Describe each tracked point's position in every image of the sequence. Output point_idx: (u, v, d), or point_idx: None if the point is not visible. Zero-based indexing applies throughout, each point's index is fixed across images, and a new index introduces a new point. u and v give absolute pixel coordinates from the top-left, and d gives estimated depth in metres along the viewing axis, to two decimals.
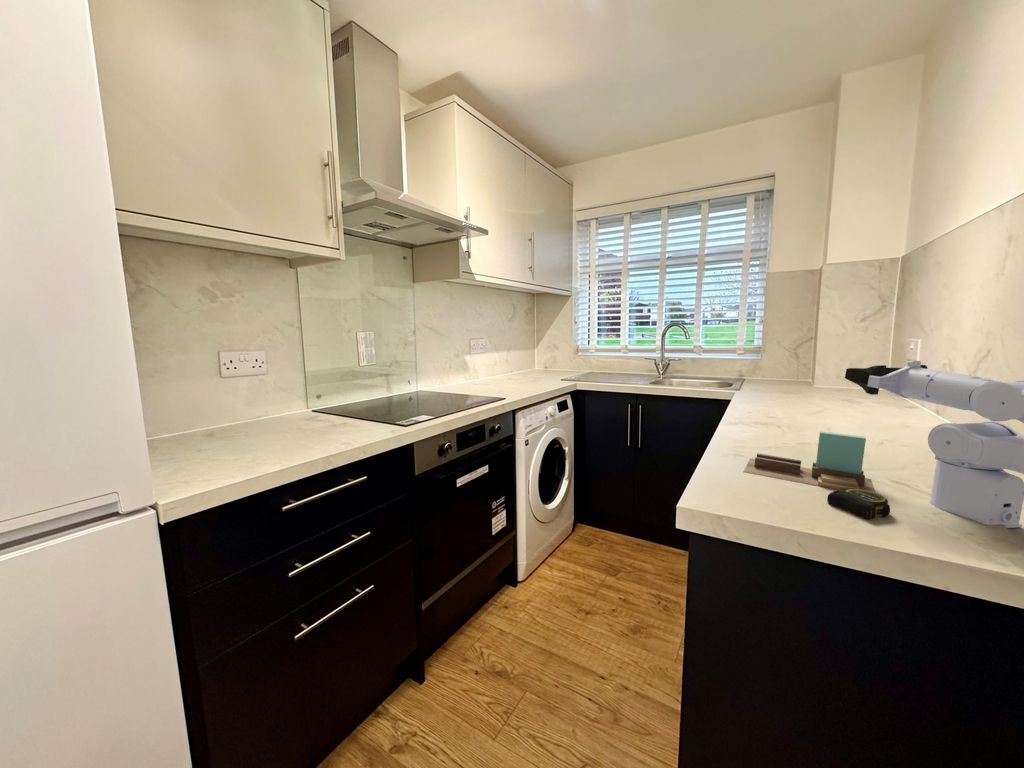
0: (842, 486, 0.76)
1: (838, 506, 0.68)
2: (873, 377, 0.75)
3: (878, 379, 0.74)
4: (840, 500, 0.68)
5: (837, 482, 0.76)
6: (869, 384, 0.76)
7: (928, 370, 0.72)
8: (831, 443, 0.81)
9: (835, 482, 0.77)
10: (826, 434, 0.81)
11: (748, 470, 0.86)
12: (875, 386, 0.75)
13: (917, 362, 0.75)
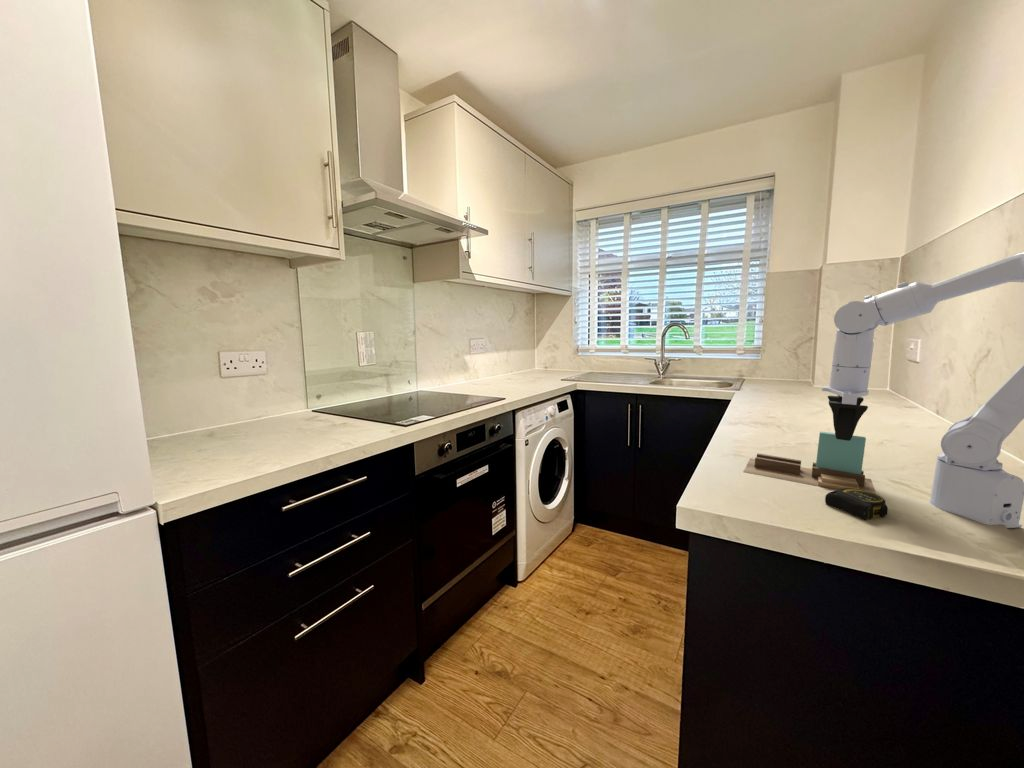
0: (842, 486, 0.76)
1: (836, 506, 0.68)
2: (843, 399, 0.74)
3: (845, 394, 0.74)
4: (837, 500, 0.68)
5: (837, 482, 0.76)
6: (853, 402, 0.73)
7: (831, 374, 0.80)
8: (831, 443, 0.81)
9: (835, 482, 0.77)
10: (826, 434, 0.81)
11: (748, 470, 0.86)
12: (855, 396, 0.73)
13: (823, 387, 0.81)
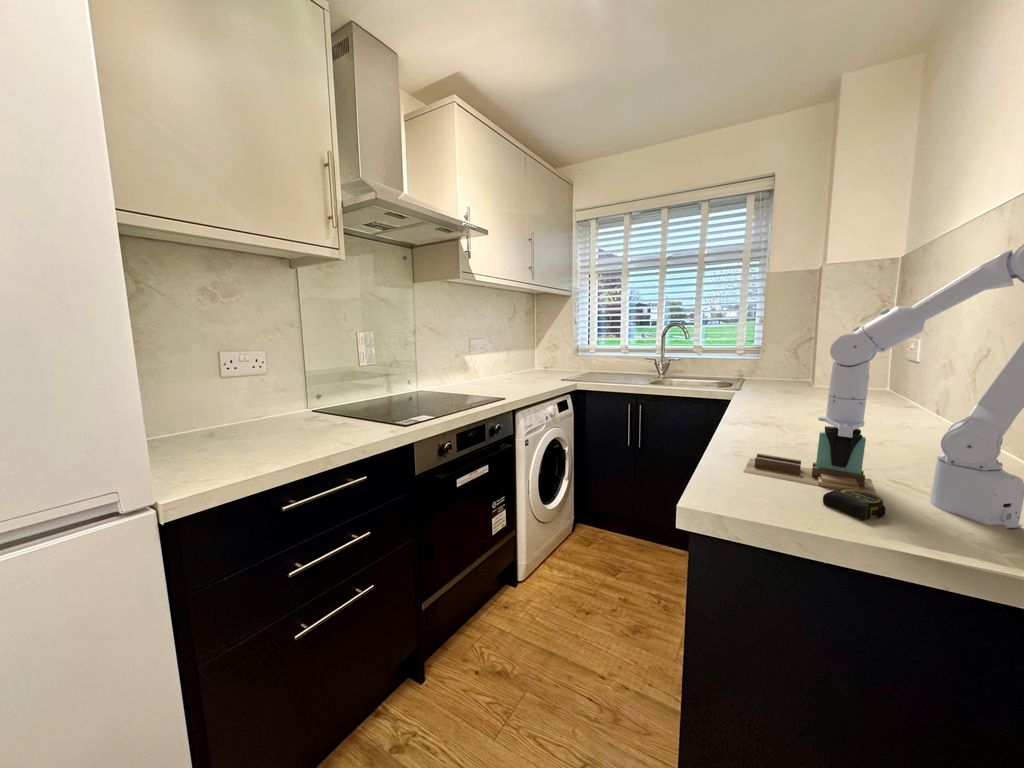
0: (842, 486, 0.76)
1: (833, 507, 0.68)
2: (839, 431, 0.75)
3: (841, 426, 0.74)
4: (835, 500, 0.68)
5: (837, 482, 0.76)
6: (849, 435, 0.74)
7: (828, 405, 0.80)
8: None
9: (835, 482, 0.77)
10: None
11: (748, 470, 0.86)
12: (851, 429, 0.74)
13: (820, 416, 0.82)
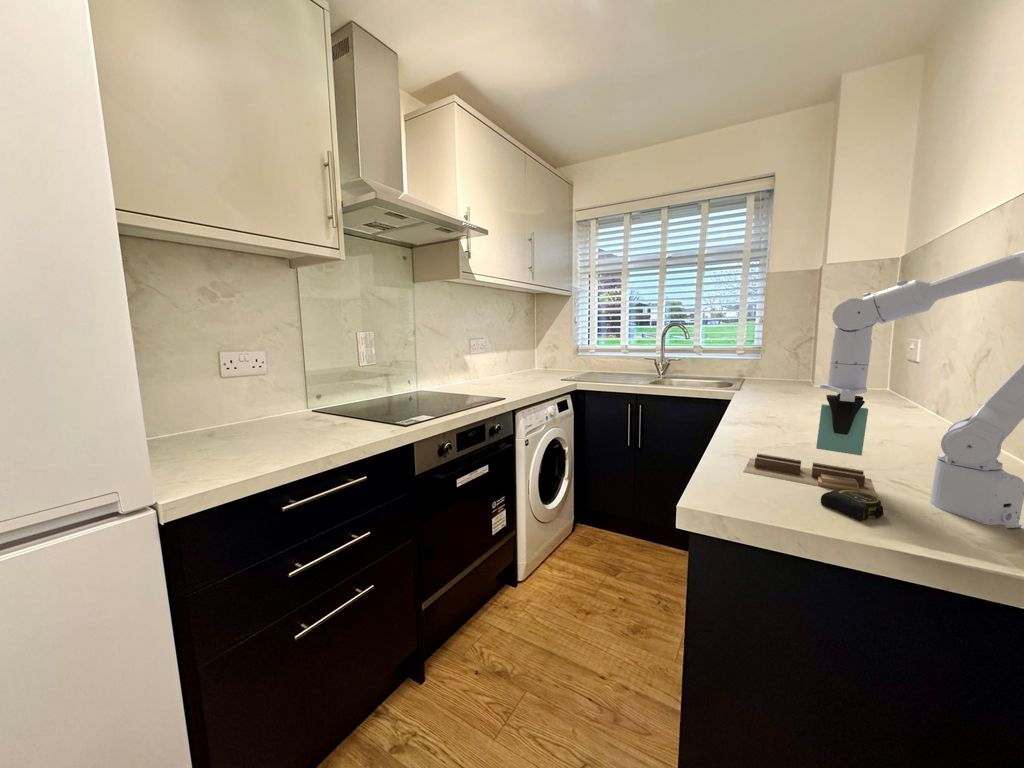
0: (842, 486, 0.76)
1: (831, 507, 0.68)
2: (842, 396, 0.74)
3: (843, 391, 0.74)
4: (833, 501, 0.68)
5: (837, 482, 0.76)
6: (851, 399, 0.73)
7: (830, 372, 0.80)
8: None
9: (835, 482, 0.77)
10: (828, 406, 0.80)
11: (748, 470, 0.86)
12: (853, 393, 0.73)
13: (822, 384, 0.81)
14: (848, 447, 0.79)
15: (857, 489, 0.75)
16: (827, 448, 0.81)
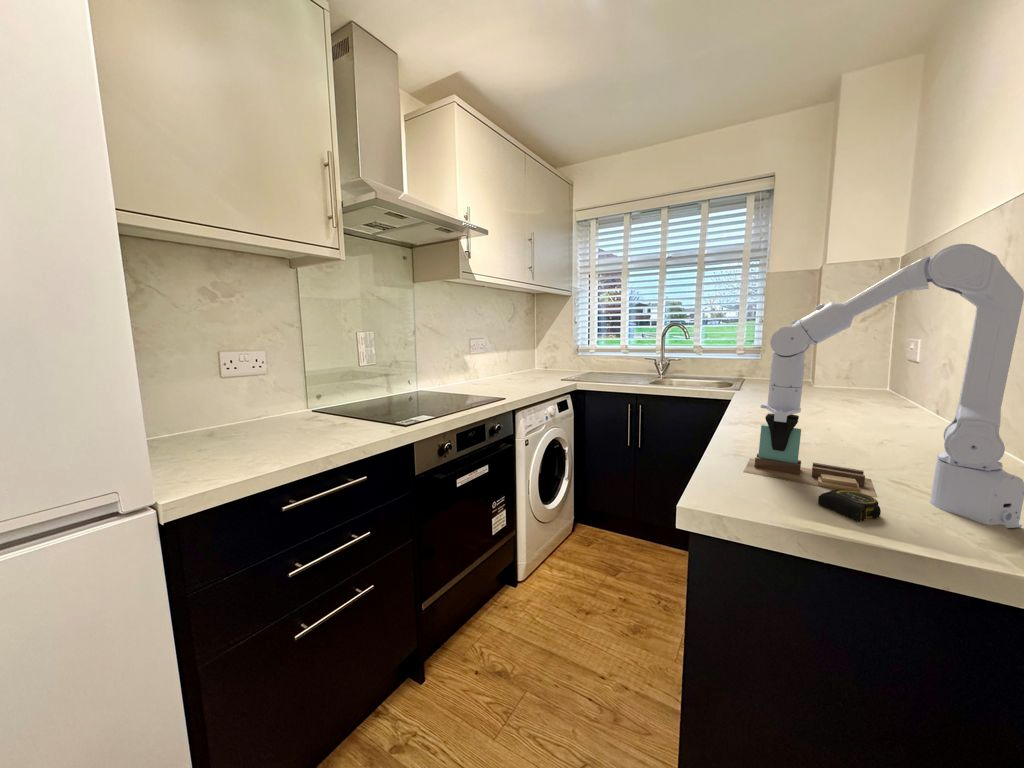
0: (842, 486, 0.76)
1: (828, 508, 0.68)
2: (775, 417, 0.80)
3: (777, 412, 0.80)
4: (830, 501, 0.67)
5: (837, 482, 0.76)
6: (783, 420, 0.80)
7: (768, 393, 0.86)
8: None
9: (835, 482, 0.77)
10: (767, 426, 0.87)
11: (748, 470, 0.86)
12: (785, 414, 0.79)
13: (762, 404, 0.88)
14: None
15: (857, 489, 0.75)
16: None
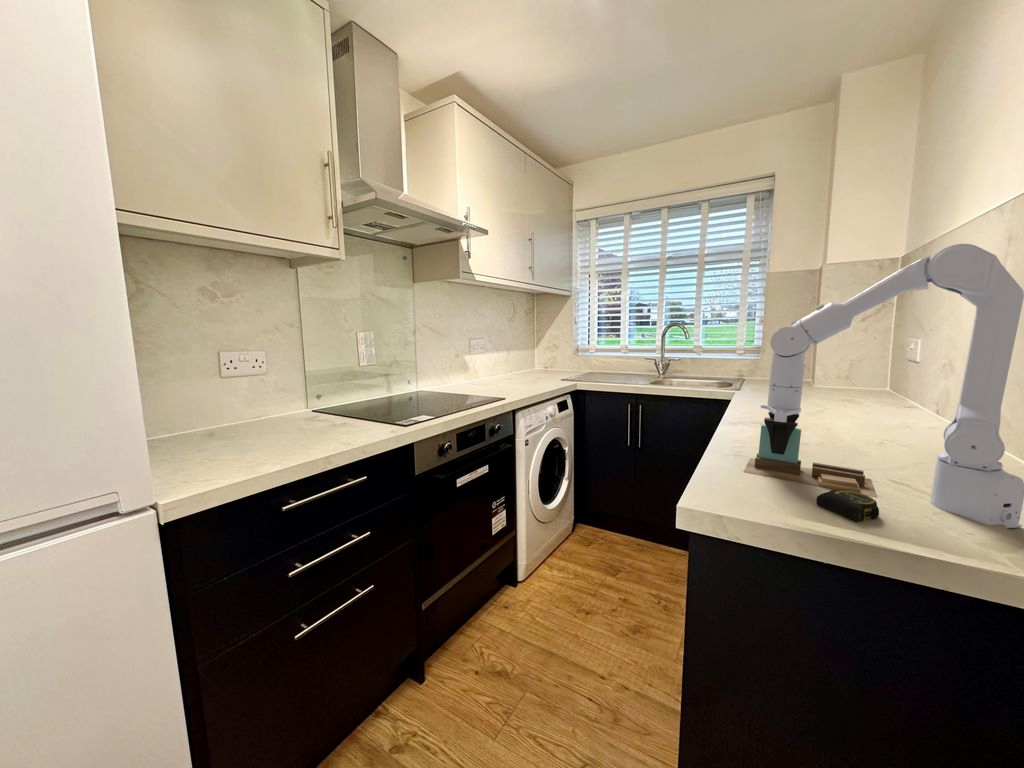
0: (842, 486, 0.76)
1: (827, 508, 0.68)
2: (775, 417, 0.80)
3: (777, 412, 0.80)
4: (829, 502, 0.67)
5: (837, 482, 0.76)
6: (783, 420, 0.80)
7: (769, 393, 0.86)
8: None
9: (835, 482, 0.77)
10: None
11: (748, 470, 0.86)
12: (785, 415, 0.79)
13: (762, 404, 0.88)
14: None
15: (857, 489, 0.75)
16: None
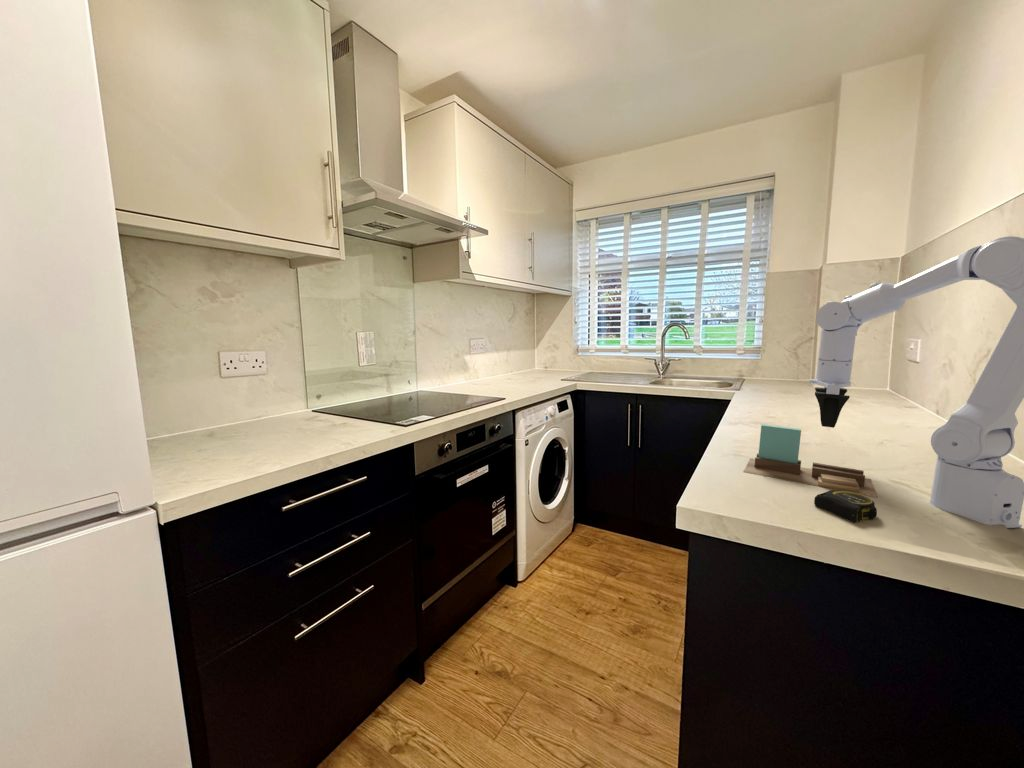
0: (842, 486, 0.76)
1: (825, 508, 0.68)
2: (827, 389, 0.82)
3: (829, 385, 0.81)
4: (826, 502, 0.67)
5: (837, 482, 0.76)
6: (836, 392, 0.81)
7: (818, 368, 0.88)
8: (771, 435, 0.87)
9: (835, 482, 0.77)
10: (767, 426, 0.87)
11: (748, 470, 0.86)
12: (838, 387, 0.81)
13: (810, 379, 0.89)
14: None
15: (857, 489, 0.75)
16: None
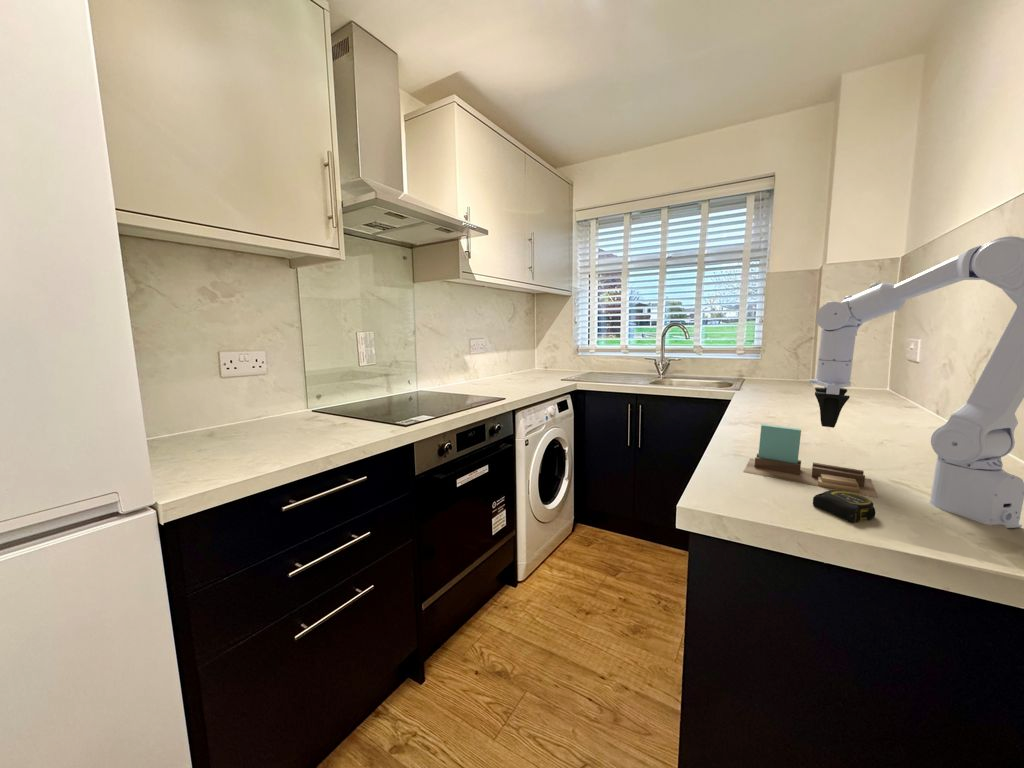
0: (842, 486, 0.76)
1: (823, 509, 0.67)
2: (827, 389, 0.82)
3: (829, 385, 0.81)
4: (825, 502, 0.67)
5: (837, 482, 0.76)
6: (836, 392, 0.81)
7: (818, 368, 0.88)
8: (771, 435, 0.87)
9: (835, 482, 0.77)
10: (767, 426, 0.87)
11: (748, 470, 0.86)
12: (838, 387, 0.81)
13: (810, 379, 0.89)
14: None
15: (857, 489, 0.75)
16: None
